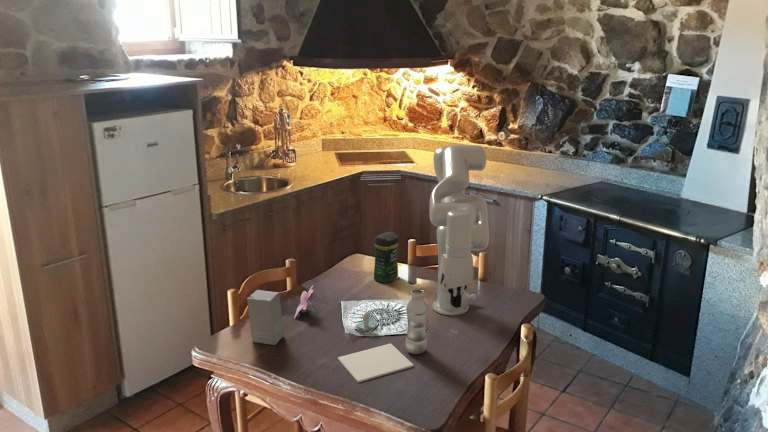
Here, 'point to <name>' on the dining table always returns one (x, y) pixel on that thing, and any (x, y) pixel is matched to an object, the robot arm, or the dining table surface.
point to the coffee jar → (386, 257)
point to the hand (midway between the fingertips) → (455, 305)
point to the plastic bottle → (416, 323)
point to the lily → (305, 301)
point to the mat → (374, 362)
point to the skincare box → (265, 317)
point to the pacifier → (366, 322)
